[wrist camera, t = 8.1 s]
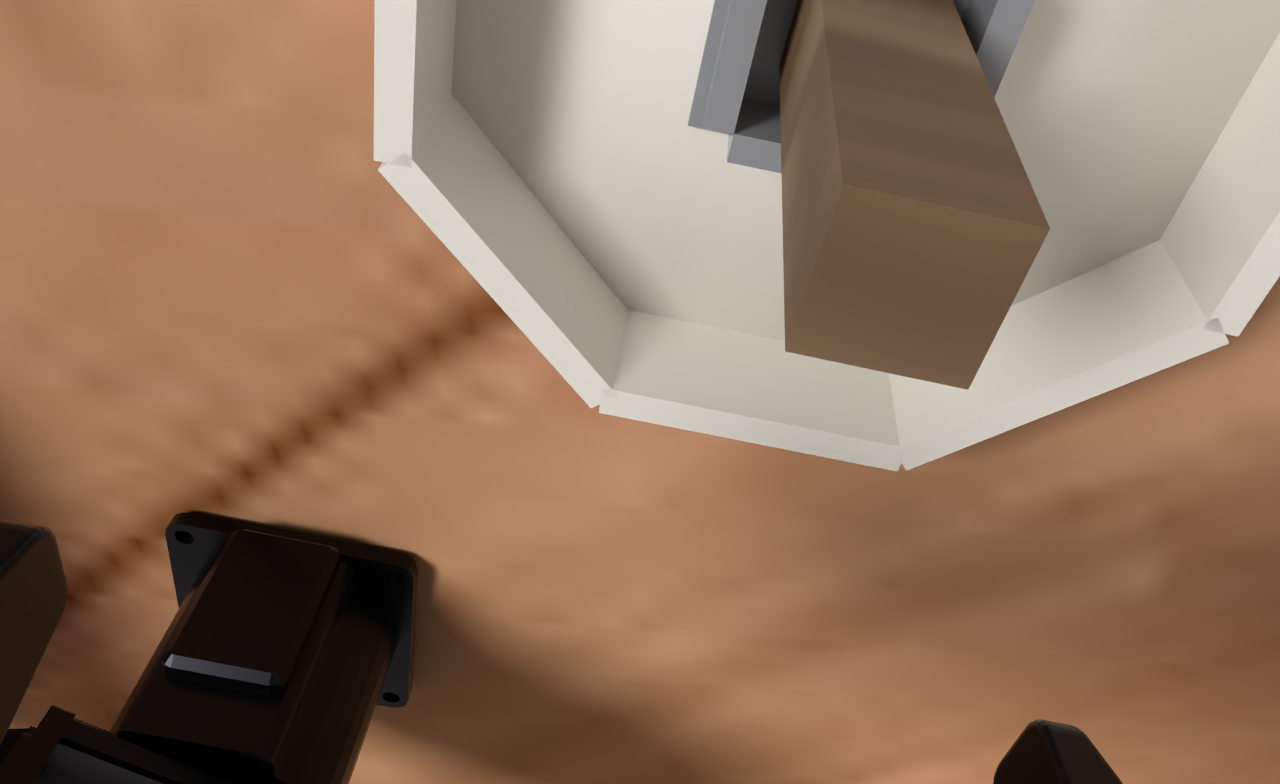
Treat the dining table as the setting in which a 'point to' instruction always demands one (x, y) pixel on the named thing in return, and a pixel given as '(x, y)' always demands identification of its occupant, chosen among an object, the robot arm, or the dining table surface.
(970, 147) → the tall wooden post
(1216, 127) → the octagonal white tray
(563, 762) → the dining table surface
